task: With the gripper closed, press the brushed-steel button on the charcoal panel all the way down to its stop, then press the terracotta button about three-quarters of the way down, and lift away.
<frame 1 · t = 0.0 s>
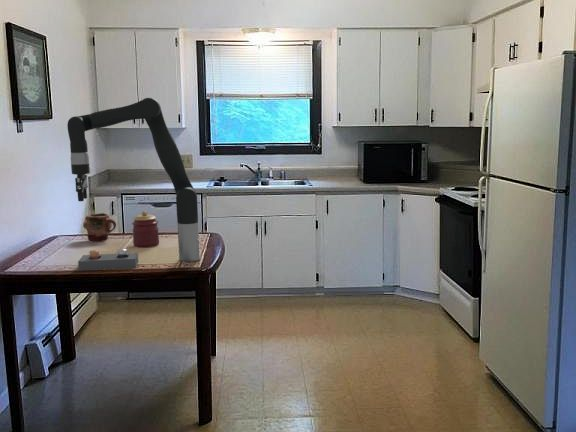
hand: (82, 199, 270), 29 cm above the table, fingers open, 8 cm apart
canister: (146, 245, 314), on the table
terracotta button: (94, 254, 271), point 5 cm above the table, slide at 0.0 cm
steel button: (122, 252, 273), point 5 cm above the table, slide at 0.0 cm
button panel: (109, 265, 273), on the table
brown ceramic mug: (101, 240, 328), on the table
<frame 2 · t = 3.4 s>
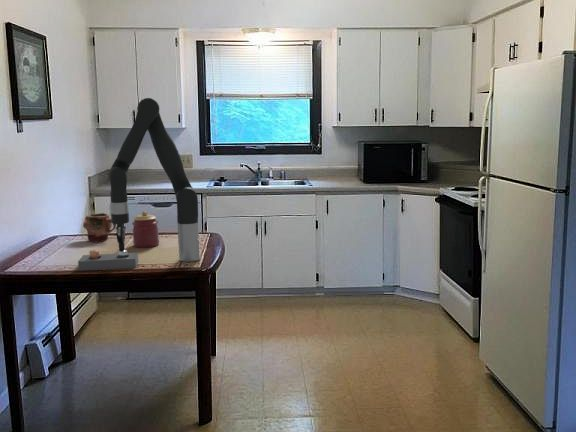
hand: (121, 250, 273), 6 cm above the table, fingers closed
steel button: (122, 254, 273), point 5 cm above the table, slide at 0.5 cm, touching gripper
everything else where it was.
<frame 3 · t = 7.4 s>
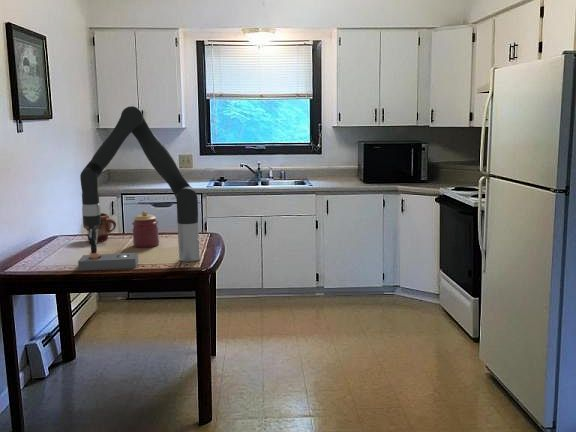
hand: (94, 252, 271), 6 cm above the table, fingers closed
terracotta button: (94, 256, 271), point 5 cm above the table, slide at 0.8 cm, touching gripper
steel button: (123, 259, 273), point 2 cm above the table, slide at 3.0 cm, touching button panel
everything else where it was.
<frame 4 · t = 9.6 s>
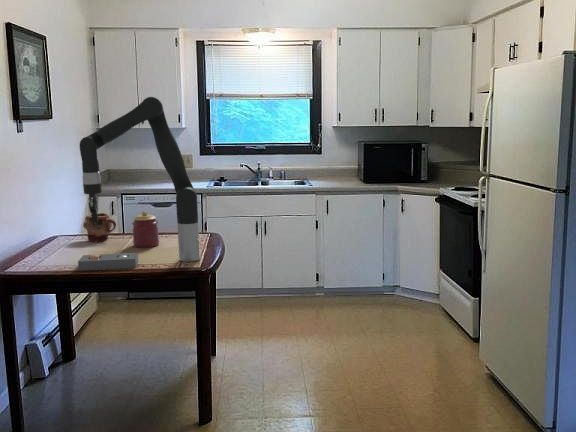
hand: (95, 221, 272), 20 cm above the table, fingers closed
terracotta button: (94, 259, 272), point 3 cm above the table, slide at 2.2 cm
everything else where it was.
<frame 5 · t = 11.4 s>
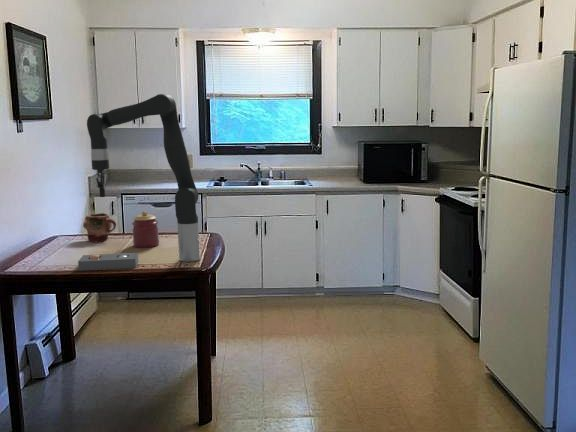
hand: (102, 196, 281), 29 cm above the table, fingers closed
nothing on the table moved.
at the end: steel button slide at 3.0 cm; terracotta button slide at 2.2 cm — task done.
